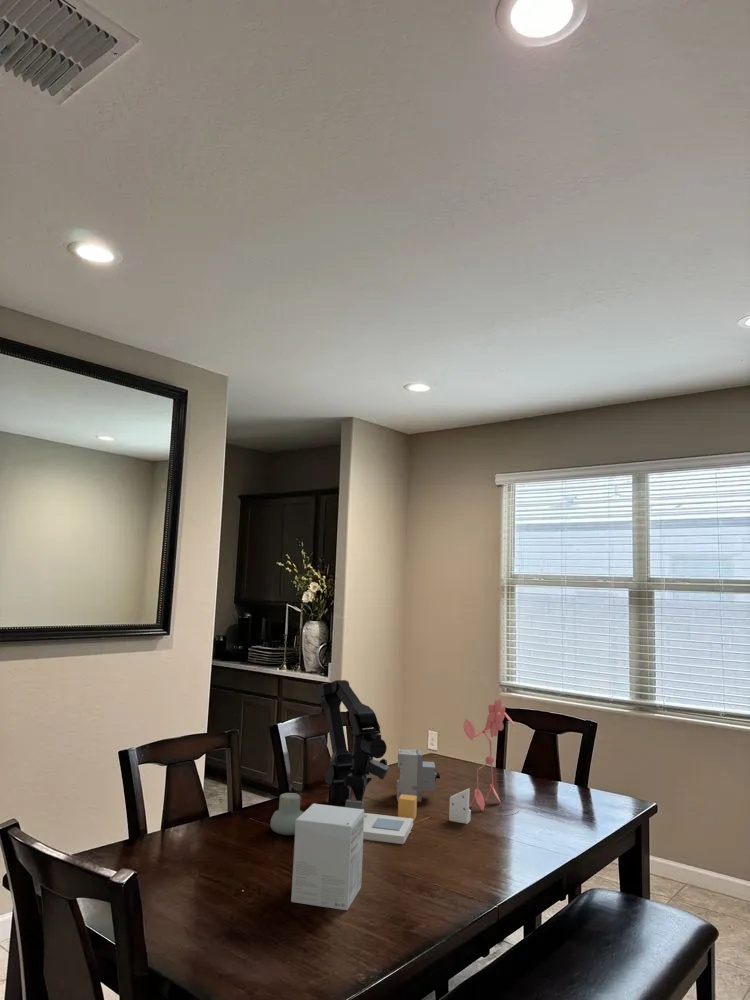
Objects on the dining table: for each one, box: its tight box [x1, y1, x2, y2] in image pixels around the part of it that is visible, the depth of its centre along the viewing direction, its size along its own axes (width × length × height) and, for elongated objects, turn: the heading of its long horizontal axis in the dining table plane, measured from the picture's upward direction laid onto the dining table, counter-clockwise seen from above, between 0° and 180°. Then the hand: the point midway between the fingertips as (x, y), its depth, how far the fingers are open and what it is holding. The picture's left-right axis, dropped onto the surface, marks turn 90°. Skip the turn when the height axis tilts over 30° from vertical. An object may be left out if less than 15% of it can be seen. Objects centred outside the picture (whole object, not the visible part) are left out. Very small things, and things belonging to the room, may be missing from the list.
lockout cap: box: [397, 794, 418, 822], centre depth 213 cm, size 5×5×6 cm
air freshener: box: [270, 792, 305, 836], centre depth 195 cm, size 11×8×10 cm
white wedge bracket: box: [448, 787, 472, 825], centre depth 212 cm, size 4×10×9 cm, turn 65°
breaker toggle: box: [344, 799, 365, 810], centre depth 206 cm, size 5×3×4 cm, turn 77°
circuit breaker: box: [396, 748, 441, 803], centre depth 233 cm, size 8×14×15 cm, turn 89°
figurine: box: [463, 698, 520, 817], centre depth 227 cm, size 15×26×35 cm, turn 140°
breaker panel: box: [363, 812, 414, 845], centre depth 199 cm, size 20×16×2 cm
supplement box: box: [290, 803, 365, 911], centre depth 157 cm, size 13×13×18 cm
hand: (359, 803), depth 212 cm, fingers closed
